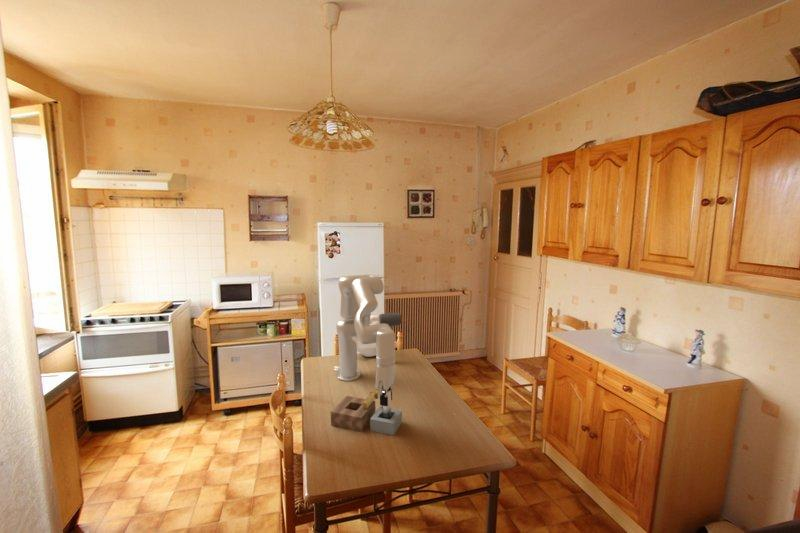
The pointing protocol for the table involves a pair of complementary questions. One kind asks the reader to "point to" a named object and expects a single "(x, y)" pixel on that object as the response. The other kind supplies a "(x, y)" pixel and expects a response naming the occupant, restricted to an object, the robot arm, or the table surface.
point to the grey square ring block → (386, 422)
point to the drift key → (370, 399)
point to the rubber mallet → (390, 319)
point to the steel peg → (387, 407)
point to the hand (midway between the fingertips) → (386, 402)
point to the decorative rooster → (367, 349)
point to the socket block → (352, 414)
